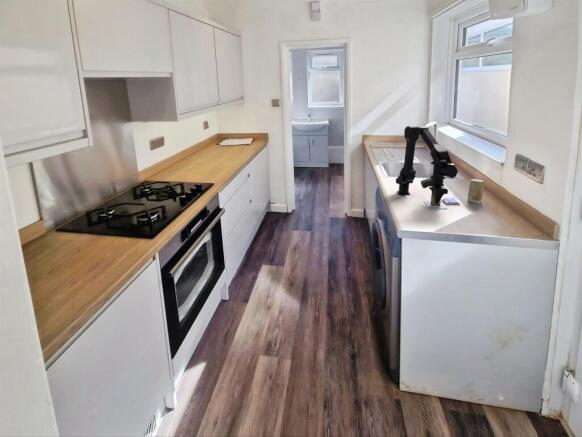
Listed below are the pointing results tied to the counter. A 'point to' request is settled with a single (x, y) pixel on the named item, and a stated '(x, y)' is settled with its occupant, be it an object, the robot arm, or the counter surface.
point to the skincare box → (475, 190)
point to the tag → (435, 206)
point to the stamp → (434, 200)
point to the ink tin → (450, 201)
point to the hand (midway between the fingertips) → (435, 202)
